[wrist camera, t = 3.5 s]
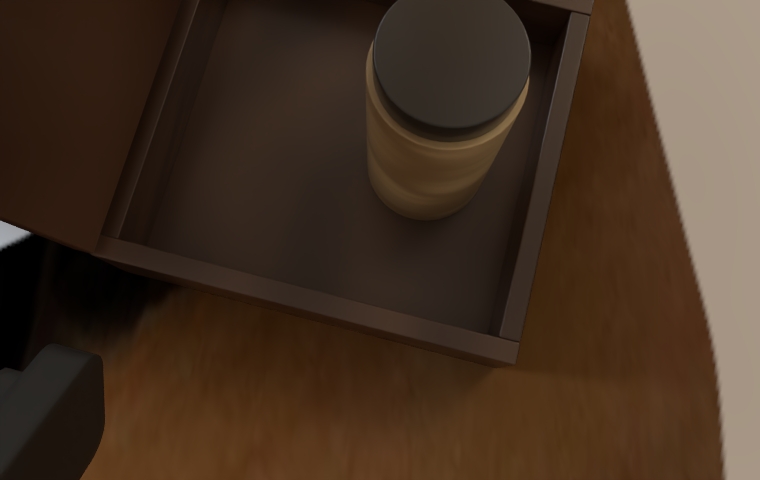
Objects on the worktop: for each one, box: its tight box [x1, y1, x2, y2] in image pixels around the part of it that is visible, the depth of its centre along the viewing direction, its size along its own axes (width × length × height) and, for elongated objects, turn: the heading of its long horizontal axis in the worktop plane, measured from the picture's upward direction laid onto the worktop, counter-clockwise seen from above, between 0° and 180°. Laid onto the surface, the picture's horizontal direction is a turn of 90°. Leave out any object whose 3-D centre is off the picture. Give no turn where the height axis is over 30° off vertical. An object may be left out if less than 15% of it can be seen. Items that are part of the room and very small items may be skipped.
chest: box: [90, 0, 594, 368], centre depth 29 cm, size 16×15×4 cm
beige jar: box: [366, 0, 531, 221], centre depth 25 cm, size 5×5×10 cm
